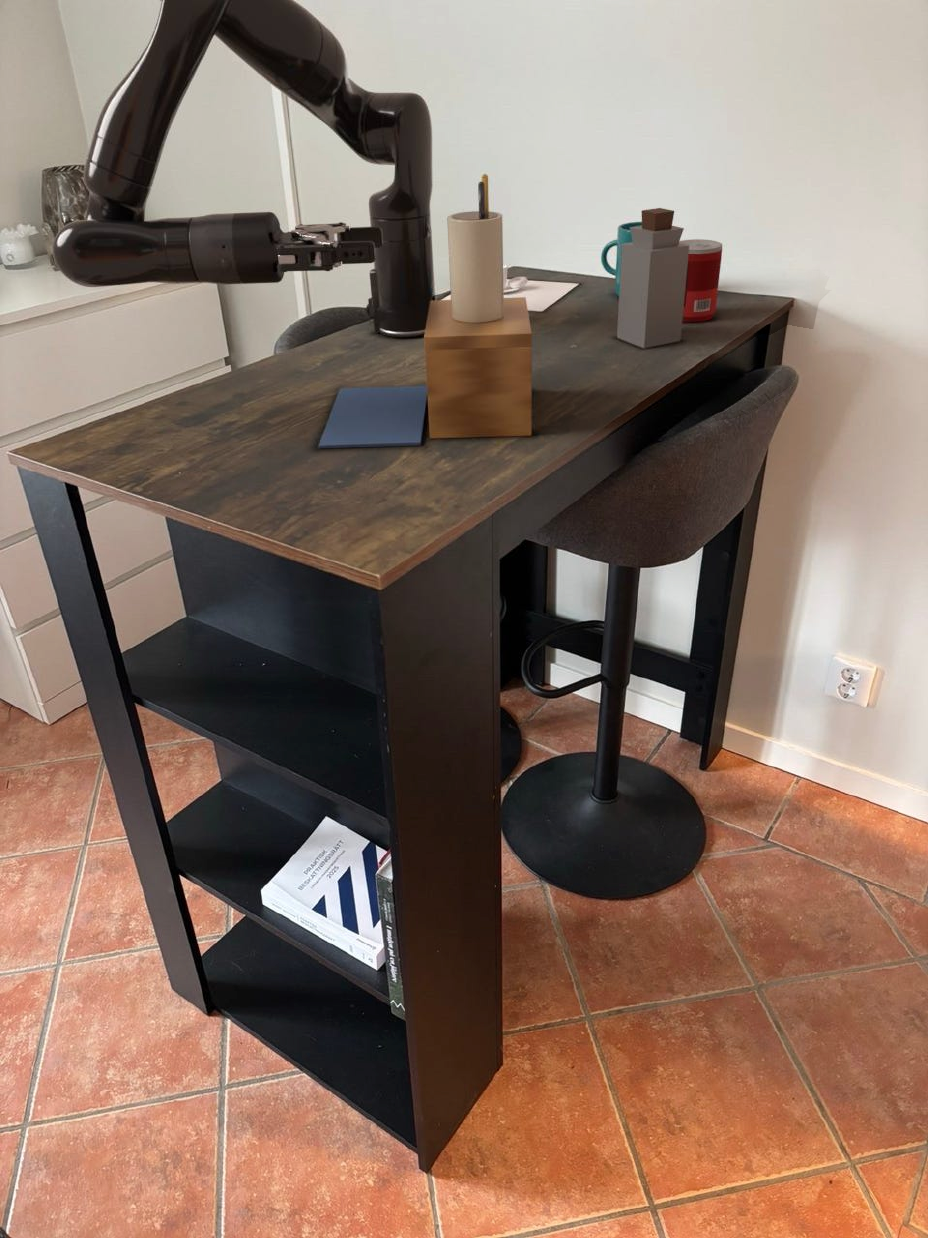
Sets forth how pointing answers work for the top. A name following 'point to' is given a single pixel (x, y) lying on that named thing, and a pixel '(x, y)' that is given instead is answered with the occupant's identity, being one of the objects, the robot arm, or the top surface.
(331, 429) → the mat
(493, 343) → the wooden shelf box
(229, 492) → the top surface
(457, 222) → the holder
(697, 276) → the canned food
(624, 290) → the perfume bottle
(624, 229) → the cup
